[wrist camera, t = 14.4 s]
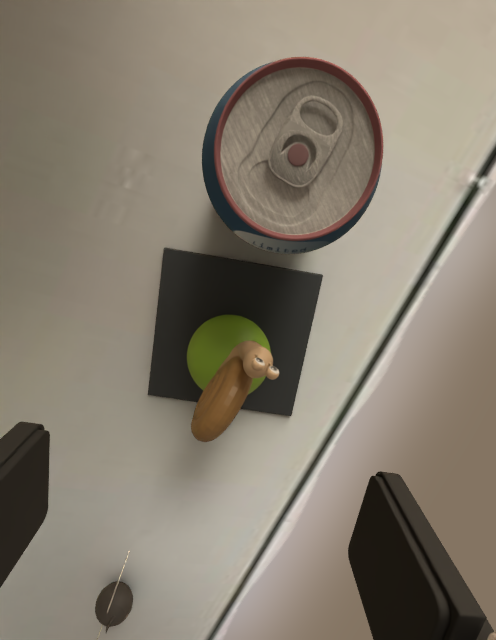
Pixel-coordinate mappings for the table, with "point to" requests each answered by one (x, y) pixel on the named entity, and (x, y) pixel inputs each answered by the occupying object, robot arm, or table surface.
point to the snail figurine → (226, 370)
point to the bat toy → (114, 604)
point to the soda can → (293, 155)
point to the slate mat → (232, 299)
